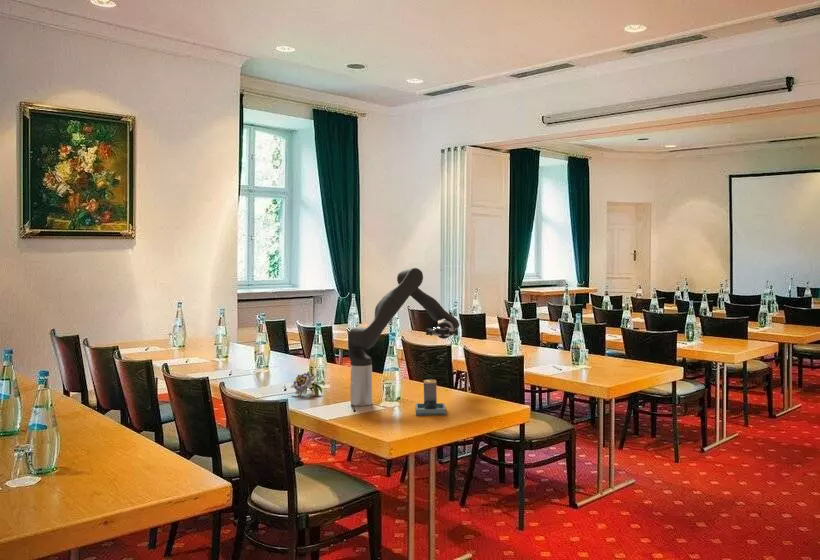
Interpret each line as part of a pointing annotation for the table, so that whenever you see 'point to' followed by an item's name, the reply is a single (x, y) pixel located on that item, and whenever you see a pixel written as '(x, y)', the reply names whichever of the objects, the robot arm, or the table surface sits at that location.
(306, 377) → the passion flower
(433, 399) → the block
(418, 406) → the tray
